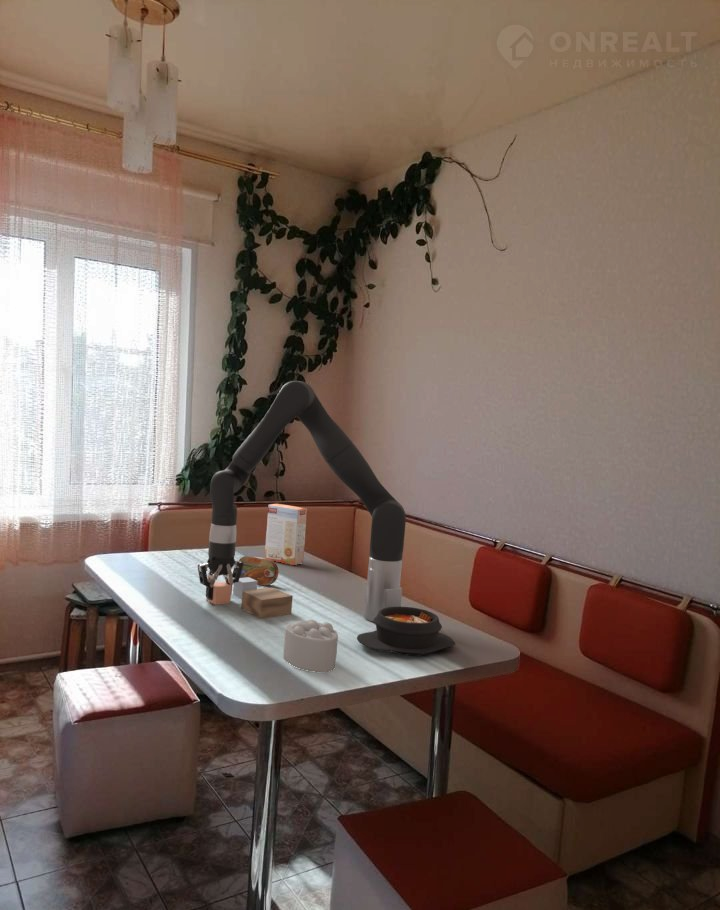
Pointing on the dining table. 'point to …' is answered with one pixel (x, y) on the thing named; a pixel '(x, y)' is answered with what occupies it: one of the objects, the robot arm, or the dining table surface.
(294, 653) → the lumpy-topped squat cylinder
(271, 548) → the cracker box
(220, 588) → the terracotta cube
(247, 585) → the grey-blue cube
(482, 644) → the dining table surface
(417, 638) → the casserole
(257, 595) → the walnut block
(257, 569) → the tin
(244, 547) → the dining table surface
